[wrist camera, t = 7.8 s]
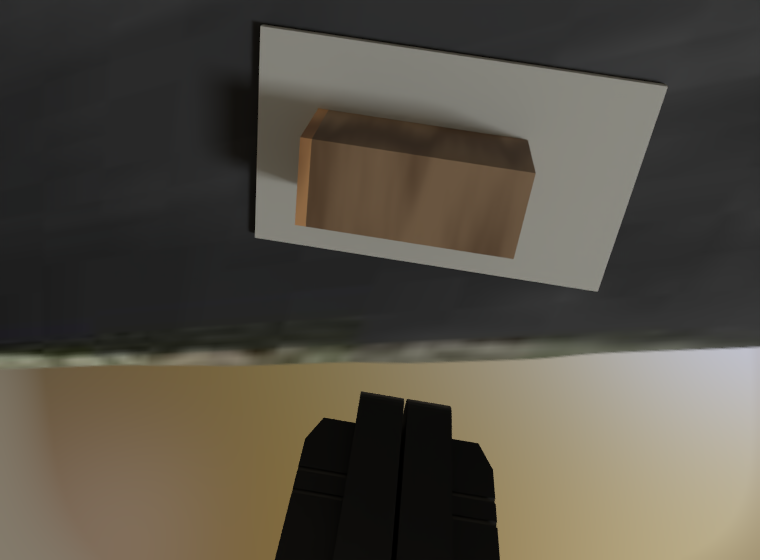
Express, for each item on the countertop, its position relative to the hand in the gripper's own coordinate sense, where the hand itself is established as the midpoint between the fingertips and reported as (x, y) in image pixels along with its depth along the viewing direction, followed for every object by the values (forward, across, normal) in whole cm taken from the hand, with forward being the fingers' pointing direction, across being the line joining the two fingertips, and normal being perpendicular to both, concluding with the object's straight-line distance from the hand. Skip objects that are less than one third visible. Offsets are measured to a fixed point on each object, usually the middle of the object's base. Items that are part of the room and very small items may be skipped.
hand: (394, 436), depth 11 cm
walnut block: (+26, -6, +6) cm, 28 cm away
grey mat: (+30, -2, +7) cm, 30 cm away
